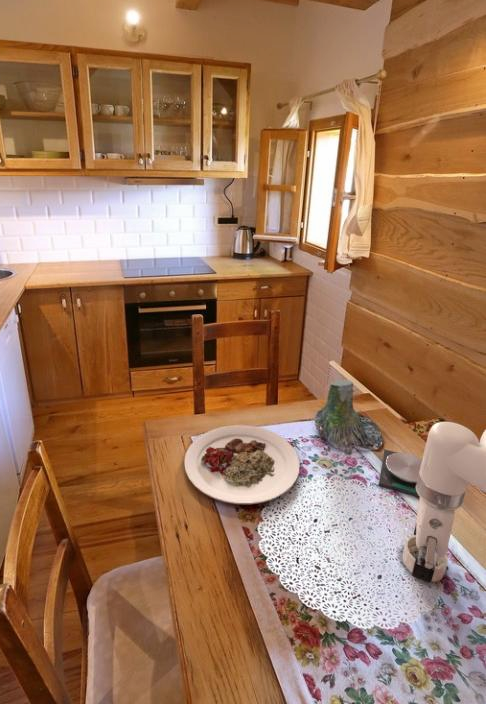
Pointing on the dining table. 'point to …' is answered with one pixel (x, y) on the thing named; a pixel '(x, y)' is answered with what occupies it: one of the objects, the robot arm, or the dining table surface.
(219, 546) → the dining table surface
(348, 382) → the tree stump
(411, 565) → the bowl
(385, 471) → the scale
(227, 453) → the plated food
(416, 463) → the scale pan
